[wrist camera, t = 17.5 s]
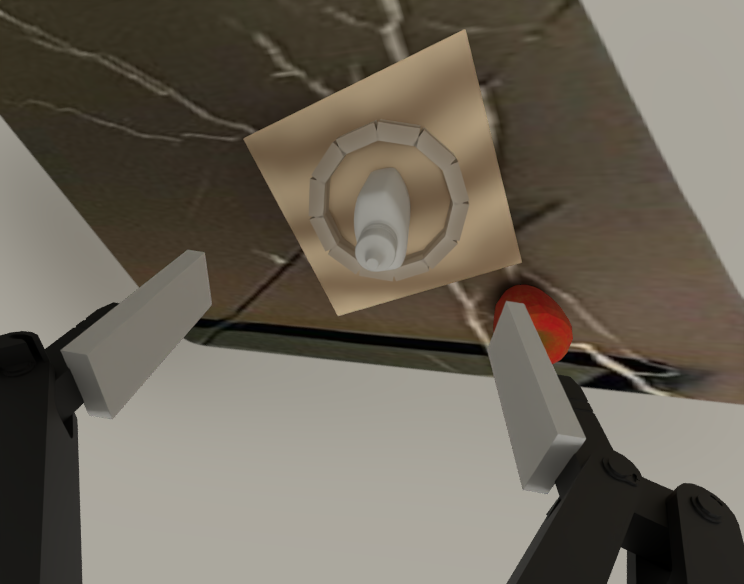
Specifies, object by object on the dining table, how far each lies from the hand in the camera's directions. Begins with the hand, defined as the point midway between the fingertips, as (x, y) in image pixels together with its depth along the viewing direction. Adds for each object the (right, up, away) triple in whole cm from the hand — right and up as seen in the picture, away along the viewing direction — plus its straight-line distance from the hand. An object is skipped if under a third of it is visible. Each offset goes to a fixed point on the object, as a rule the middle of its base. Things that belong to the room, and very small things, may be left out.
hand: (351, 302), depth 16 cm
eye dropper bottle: (+2, +8, +14) cm, 17 cm away
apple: (+15, 0, +20) cm, 25 cm away
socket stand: (+2, +9, +16) cm, 18 cm away
